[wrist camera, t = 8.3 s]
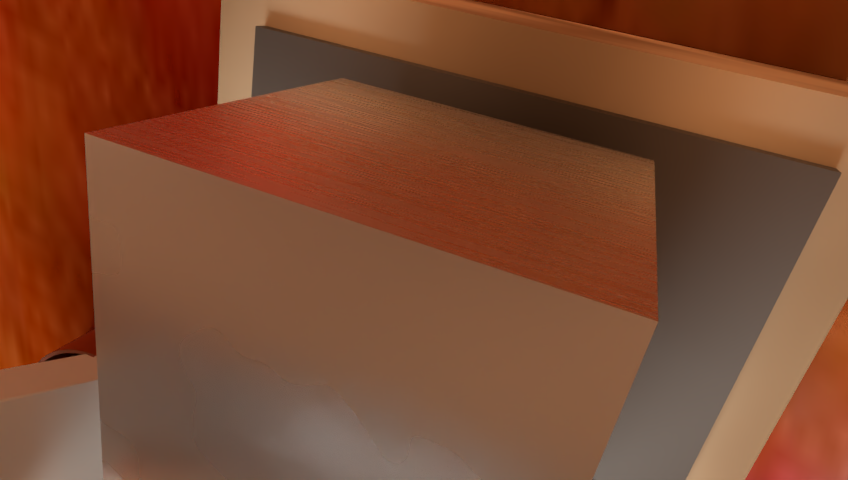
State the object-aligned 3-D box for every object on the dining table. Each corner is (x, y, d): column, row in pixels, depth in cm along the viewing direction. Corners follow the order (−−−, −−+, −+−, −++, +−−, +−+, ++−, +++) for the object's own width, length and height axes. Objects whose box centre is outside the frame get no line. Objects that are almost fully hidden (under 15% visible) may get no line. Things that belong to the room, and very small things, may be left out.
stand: (301, 346, 21) (198, 444, 16) (344, -28, 15) (212, -43, 11) (652, 484, 18) (652, 655, 13) (846, 81, 13) (958, 124, 8)
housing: (342, 77, 10) (84, 132, 5) (654, 160, 8) (658, 321, 4) (289, 490, 14) (116, 721, 9) (498, 587, 12) (414, 905, 8)
